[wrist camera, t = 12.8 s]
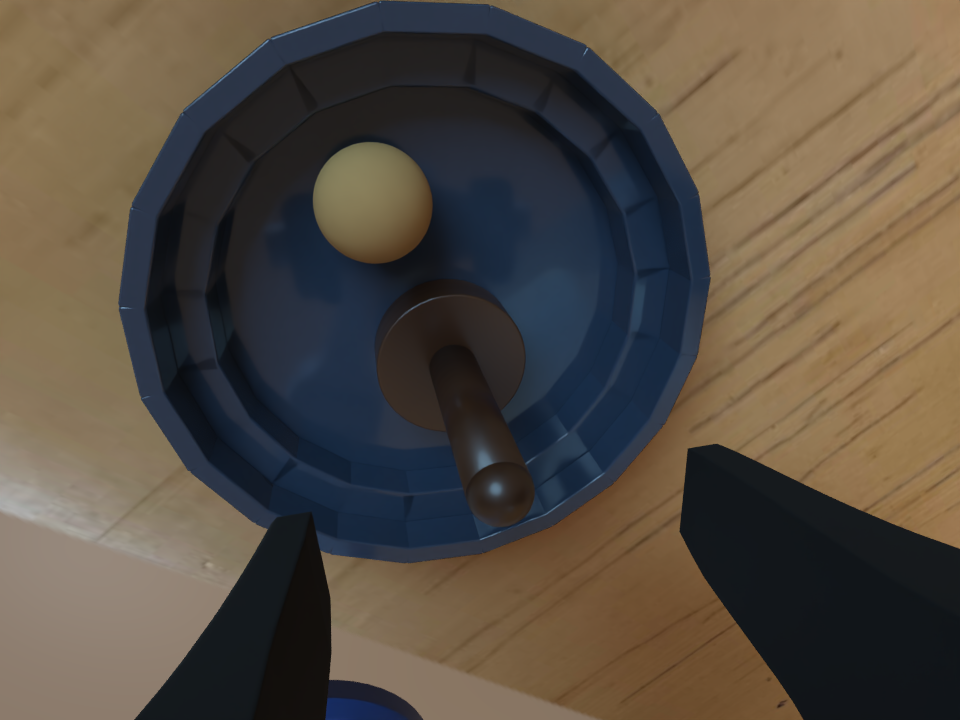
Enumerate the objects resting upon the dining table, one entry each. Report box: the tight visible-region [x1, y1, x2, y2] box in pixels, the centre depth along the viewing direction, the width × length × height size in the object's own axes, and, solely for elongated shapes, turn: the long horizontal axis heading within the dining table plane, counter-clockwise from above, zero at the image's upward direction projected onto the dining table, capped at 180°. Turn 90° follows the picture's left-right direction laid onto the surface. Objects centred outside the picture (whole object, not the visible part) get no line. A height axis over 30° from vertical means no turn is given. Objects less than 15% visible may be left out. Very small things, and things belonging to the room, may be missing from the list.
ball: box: [313, 142, 433, 264], centre depth 16 cm, size 3×3×3 cm
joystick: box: [375, 279, 535, 527], centre depth 15 cm, size 4×4×8 cm
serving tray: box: [118, 1, 710, 563], centre depth 17 cm, size 15×15×3 cm
